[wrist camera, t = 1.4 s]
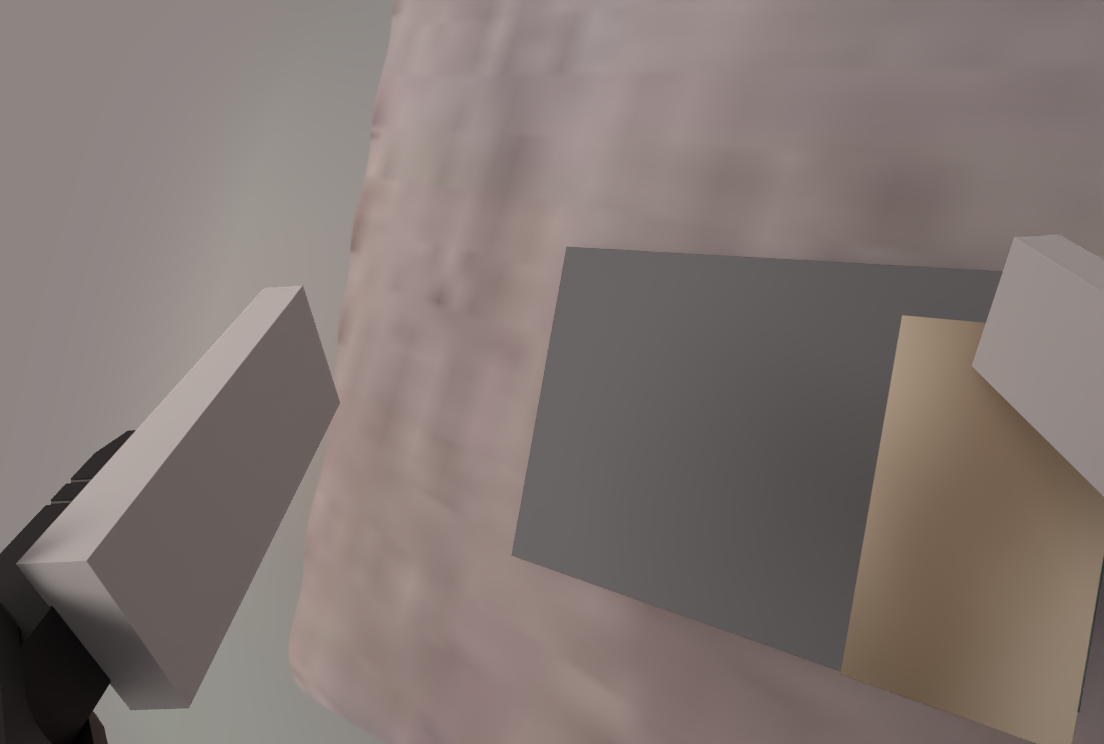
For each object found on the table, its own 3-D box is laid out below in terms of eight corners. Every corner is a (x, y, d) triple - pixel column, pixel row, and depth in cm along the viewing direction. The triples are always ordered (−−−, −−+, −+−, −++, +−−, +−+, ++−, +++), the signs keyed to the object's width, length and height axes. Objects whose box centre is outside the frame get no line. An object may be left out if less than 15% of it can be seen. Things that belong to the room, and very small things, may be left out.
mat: (1073, 280, 24) (1078, 275, 24) (999, 719, 24) (1001, 727, 24) (573, 250, 35) (566, 246, 35) (519, 553, 35) (511, 555, 35)
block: (1032, 390, 24) (1154, 338, 12) (996, 600, 24) (1083, 760, 12) (906, 374, 26) (902, 315, 14) (873, 566, 26) (840, 674, 14)
